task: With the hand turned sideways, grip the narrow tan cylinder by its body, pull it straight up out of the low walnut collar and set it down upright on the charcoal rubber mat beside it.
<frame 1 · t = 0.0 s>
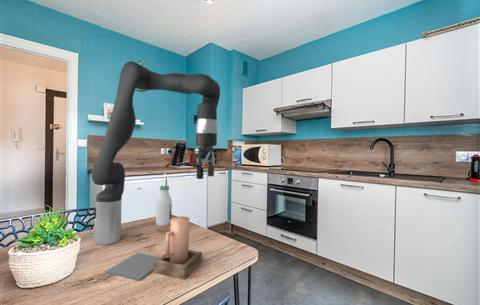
hand: (205, 177, 78), 29 cm above the table, tool pointing down, fingers open, 8 cm apart
walnut collar: (179, 267, 71), on the table
charcoal mat: (138, 266, 72), on the table
milk bottle: (163, 224, 114), on the table
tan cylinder: (176, 244, 70), in the walnut collar
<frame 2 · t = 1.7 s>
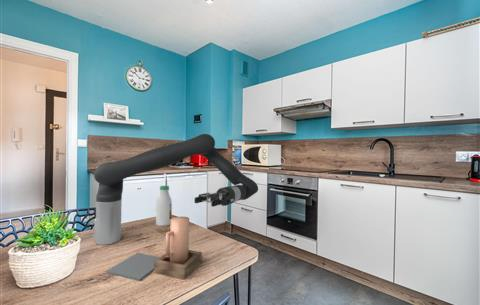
hand: (203, 202, 81), 20 cm above the table, tool horizontal, fingers open, 8 cm apart
nothing on the table moved.
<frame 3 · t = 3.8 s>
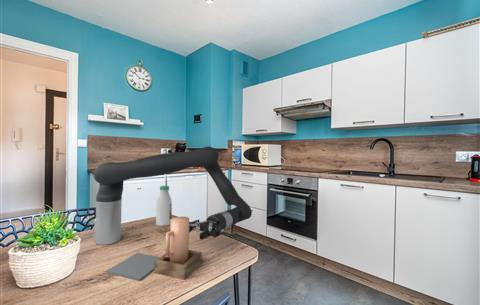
hand: (191, 233, 76), 9 cm above the table, tool horizontal, fingers open, 8 cm apart
nothing on the table moved.
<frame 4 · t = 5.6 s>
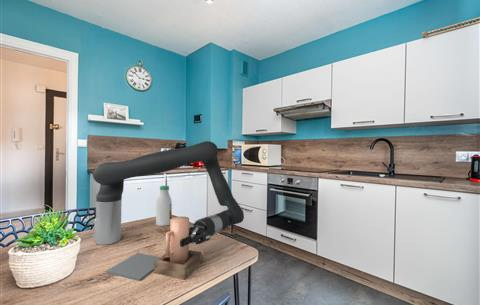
hand: (173, 241, 69), 10 cm above the table, tool horizontal, fingers closed on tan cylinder, 6 cm apart
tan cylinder: (176, 244, 70), in the walnut collar, touching gripper
everything else where it was.
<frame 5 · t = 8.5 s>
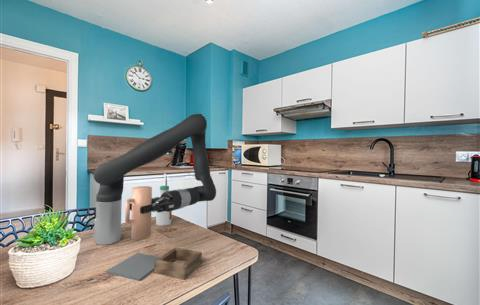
hand: (134, 208, 70), 20 cm above the table, tool horizontal, fingers closed on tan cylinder, 6 cm apart
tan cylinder: (138, 212, 71), point 18 cm above the table, touching gripper
everything else where it was.
when the fingers open (11 cm above the table, at t = 11.2 s): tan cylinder drops 1 cm, resting on charcoal mat.
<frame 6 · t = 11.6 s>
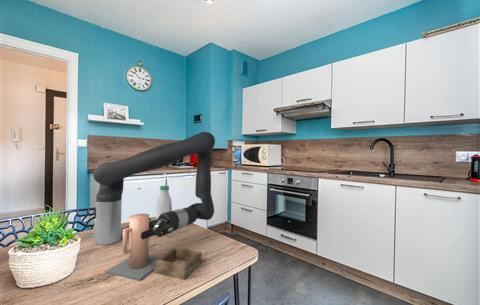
hand: (133, 233, 70), 12 cm above the table, tool horizontal, fingers open, 8 cm apart
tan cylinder: (135, 241, 71), on the charcoal mat, point 9 cm above the table
everything else where it was.
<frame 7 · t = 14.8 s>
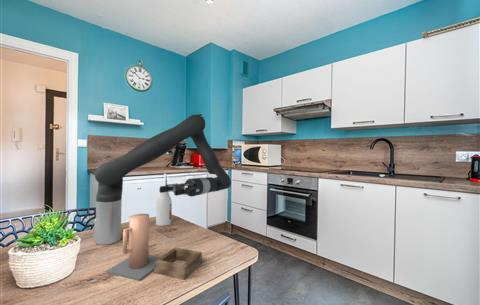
hand: (167, 191, 81), 23 cm above the table, tool horizontal, fingers open, 8 cm apart
nothing on the table moved.
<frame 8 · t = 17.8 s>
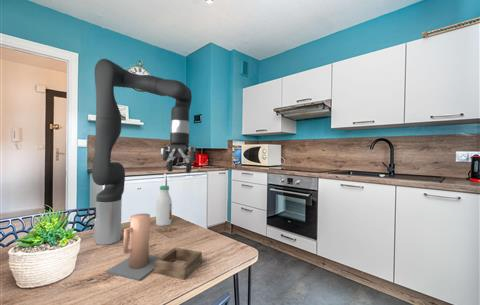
hand: (179, 172, 88), 30 cm above the table, tool pointing down, fingers open, 8 cm apart
nothing on the table moved.
at the end: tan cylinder inside the target area on the charcoal mat (0.2 cm from its centre), point 8.7 cm above the charcoal mat's base; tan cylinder tilted 1°; the gripper is holding nothing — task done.
